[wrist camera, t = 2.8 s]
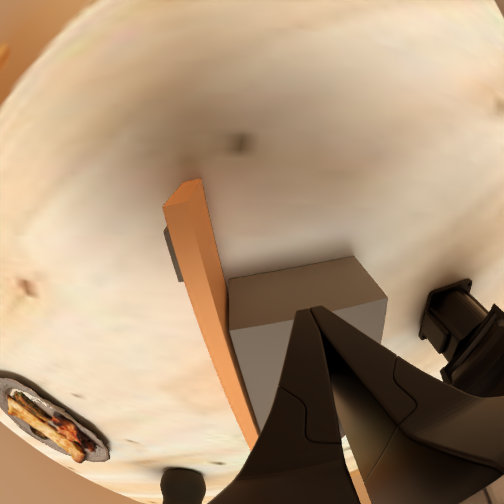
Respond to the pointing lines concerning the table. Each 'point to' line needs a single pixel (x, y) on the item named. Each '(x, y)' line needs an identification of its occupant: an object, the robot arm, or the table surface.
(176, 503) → the cola bottle
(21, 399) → the food plate
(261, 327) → the camera case
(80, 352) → the table surface
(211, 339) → the side door
